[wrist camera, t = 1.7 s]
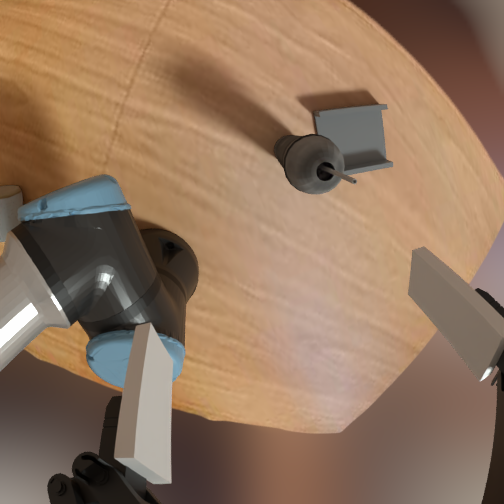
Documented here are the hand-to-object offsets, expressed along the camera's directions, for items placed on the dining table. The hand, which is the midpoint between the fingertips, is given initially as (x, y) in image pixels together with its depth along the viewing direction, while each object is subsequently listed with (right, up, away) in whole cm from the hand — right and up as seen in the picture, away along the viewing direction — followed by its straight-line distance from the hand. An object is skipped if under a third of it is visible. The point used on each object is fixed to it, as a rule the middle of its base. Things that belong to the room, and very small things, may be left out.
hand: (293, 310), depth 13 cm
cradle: (+14, +21, +31) cm, 40 cm away
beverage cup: (+4, +18, +30) cm, 36 cm away
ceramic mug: (-45, +11, +27) cm, 54 cm away
